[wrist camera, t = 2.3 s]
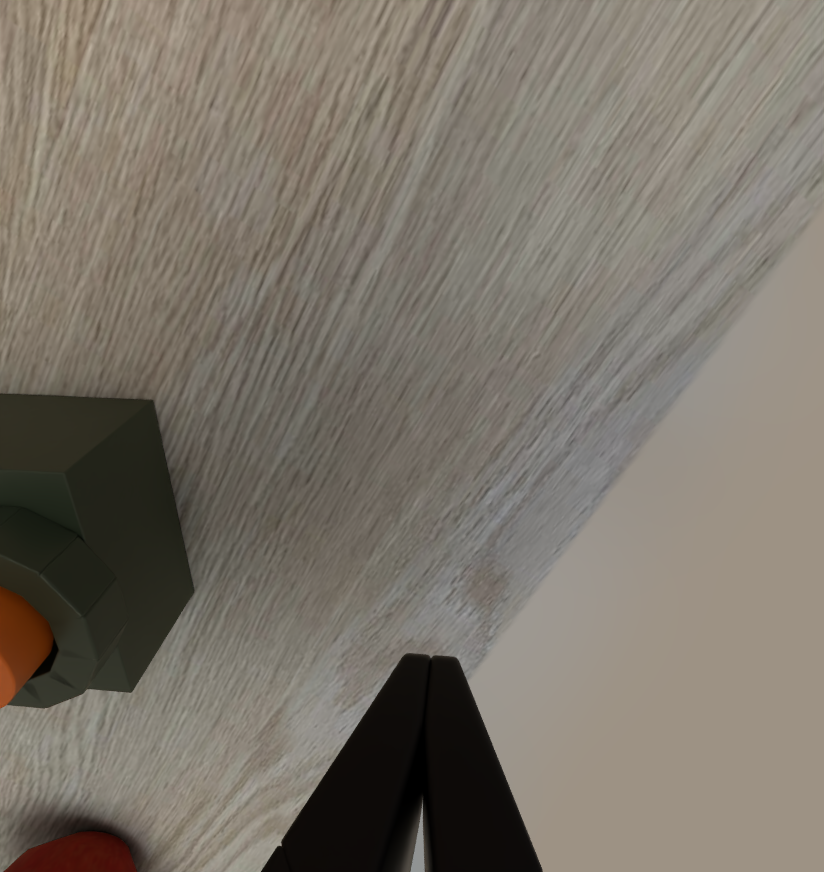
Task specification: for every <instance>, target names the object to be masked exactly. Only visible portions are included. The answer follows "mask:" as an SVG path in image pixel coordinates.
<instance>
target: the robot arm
mask: <svg viewBox="0 0 824 872" xmlns="http://www.w3.org/2000/svg"><path fill="white" fill-rule="evenodd" d="M422 801H423V835H424V863H425V872H543V871H542V867H541V865H540V862H539V860H538V857H537V855H536V852H535V850H534V847H533V845H532V842H531V840H530V837H529V835H528V832H527V830H526V827H525V825H524V822H523V820H522V817H521V815H520V812H519V810H518V807H517V805H516V802H515V800H514V797H513V795H512V792H511V790H510V787H509V785H508V782H507V780H506V777H505V775H504V772H503V770H502V767H501V765H500V762H499V760H498V758H497V755H496V752H495V750H494V748H493V745H492V742H491V740H490V737H489V735H488V732H487V730H486V727H485V725H484V722H483V720H482V717H481V715H480V712H479V710H478V707H477V705H476V702H475V700H474V697H473V695H472V692H471V690H470V687H469V685H468V682H467V680H466V677H465V675H464V672H463V670H462V667H461V665H460V662H459V661H458V659H457V658H456V657H450V656H438V655H435V656H433V657H432V658H430V656H428V655H425V654H413V653H407V654H405V655H404V656H403V657H402V658H401V660H400V661H399V663H398V664H397V666H396V667H395V669H394V670H393V672H392V674H391V675H390V677H389V678H388V680H387V681H386V683H385V684H384V686H383V687H382V689H381V690H380V692H379V693H378V695H377V696H376V698H375V699H374V701H373V702H372V704H371V705H370V707H369V708H368V710H367V712H366V713H365V715H364V716H363V718H362V719H361V721H360V722H359V724H358V725H357V727H356V728H355V730H354V731H353V733H352V734H351V736H350V737H349V739H348V740H347V742H346V743H345V745H344V746H343V748H342V750H341V751H340V753H339V754H338V756H337V757H336V759H335V760H334V762H333V763H332V765H331V766H330V768H329V769H328V771H327V772H326V774H325V775H324V777H323V778H322V780H321V781H320V783H319V784H318V786H317V788H316V789H315V791H314V792H313V794H312V795H311V797H310V798H309V800H308V801H307V803H306V804H305V806H304V807H303V809H302V810H301V812H300V813H299V815H298V816H297V818H296V819H295V821H294V822H293V824H292V826H291V827H290V829H289V830H288V832H287V833H286V835H285V836H284V838H283V839H282V841H281V844H282V846H278V847H277V848H276V849H275V851H274V852H273V854H272V855H271V857H270V858H269V860H268V862H267V863H266V865H265V866H264V868H263V869H262V871H261V872H410V871H411V865H412V859H413V854H414V849H415V844H416V838H417V833H418V828H419V822H420V815H421V808H422Z"/></svg>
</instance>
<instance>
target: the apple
mask: <svg viewBox="0 0 824 872" xmlns="http://www.w3.org/2000/svg"><path fill="white" fill-rule="evenodd" d="M4 872H137V870H136V867H135V864H134V862H133V859H132V856H131V853H130V850H129V847H128V846H127V845H126V844H125V843H124V842H123V841H122V840H121V839H120V838H118V837H116V836H113V835H111V834H109V833H103V832H96V831H84V832H78V833H75V834H72V835H69V836H66V837H63V838H60V839H57V840H54V841H51V842H48V843H45V844H42V845H39V846H36V847H33V848H31V849H28V850H27V851H26V852H25V853H23V854H22V855H21V856H20V857H19V858H18V859H17V860H16V861H14V862H13V863H12V864H11V865H10V866H9V867H8V868H7V869H6V870H5V871H4Z"/></svg>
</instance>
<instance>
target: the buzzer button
mask: <svg viewBox="0 0 824 872" xmlns="http://www.w3.org/2000/svg"><path fill="white" fill-rule="evenodd" d="M53 640H54V638H53V633H52V630H51V628H50V625H49V622H48V621H47V620H46V619H45V618H44V617H43V616H42V615H41V614H40V613H39V612H38V611H37V610H35V609H34V608H33V607H32V606H31V605H30V604H29V603H28V602H27V601H26V600H25V599H24V598H23V597H22V596H20V595H18V594H16V593H14V592H12V591H9V590H7V589H5V588H3V587H1V586H0V708H2V707H4V706H6V705H7V704H8V703H10V701H11V700H12V699H13V698H14V697H15V695H16V694H17V693H18V692H19V690H20V689H21V688H22V687H23V686H24V684H25V683H26V682H27V681H28V680H29V678H30V677H31V676H32V675H33V673H34V672H35V671H36V670H37V669H38V667H39V666H40V665H41V664H42V663H43V661H44V660H45V659H46V658H47V656H48V655H49V654H50V652H51V650H52V646H53Z"/></svg>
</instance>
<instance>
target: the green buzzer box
mask: <svg viewBox="0 0 824 872" xmlns="http://www.w3.org/2000/svg"><path fill="white" fill-rule="evenodd" d="M0 586H1V587H3V588H5V589H7V590H9V591H12V592H14V593H16V594H18V595H20V596H22V597H23V598H24V599H25V600H26V601H27V602H28V603H29V604H30V605H31V606H32V607H33V608H34V609H35V610H37V611H38V612H39V613H40V614H41V615H42V616H43V617H44V618H45V619H46V620H47V621H48V622H49V625H50V628H51V630H52V633H53V638H54V640H53V646H52V650H51V652H50V654H49V655H48V656H47V658H46V659H45V660H44V661H43V663H42V664H41V665H40V666H39V667H38V669H37V670H36V671H35V672H34V673H33V675H32V676H31V677H30V678H29V680H28V681H27V682H26V683H25V684H24V686H23V687H22V688H21V689H20V690H19V692H18V693H17V694H16V695H15V697H14V698H13V699H12V700H11V701H10V703H8V704H7V705H13V706H24V707H34V708H48V707H51V706H53V705H56V704H58V703H61V702H63V701H66V700H69V699H71V698H74V697H76V696H79V695H81V694H83V693H84V692H85V691H86V690H87V689H96V690H107V691H118V692H129V693H131V692H132V691H133V690H134V688H135V687H136V685H137V683H138V682H139V680H140V679H141V677H142V675H143V674H144V672H145V670H146V669H147V667H148V666H149V664H150V662H151V661H152V659H153V658H154V656H155V654H156V653H157V651H158V650H159V648H160V646H161V645H162V643H163V641H164V640H165V638H166V637H167V635H168V633H169V632H170V630H171V629H172V627H173V625H174V624H175V622H176V620H177V619H178V617H179V616H180V614H181V612H182V611H183V609H184V608H185V606H186V604H187V603H188V601H189V600H190V598H191V596H192V595H193V593H194V589H193V584H192V580H191V575H190V571H189V566H188V561H187V557H186V552H185V547H184V543H183V538H182V533H181V529H180V524H179V519H178V515H177V510H176V506H175V501H174V496H173V492H172V487H171V482H170V478H169V473H168V468H167V464H166V459H165V455H164V450H163V445H162V441H161V436H160V431H159V427H158V422H157V417H156V413H155V408H154V403H153V401H152V400H134V399H111V398H88V397H65V396H42V395H19V394H0Z"/></svg>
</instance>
